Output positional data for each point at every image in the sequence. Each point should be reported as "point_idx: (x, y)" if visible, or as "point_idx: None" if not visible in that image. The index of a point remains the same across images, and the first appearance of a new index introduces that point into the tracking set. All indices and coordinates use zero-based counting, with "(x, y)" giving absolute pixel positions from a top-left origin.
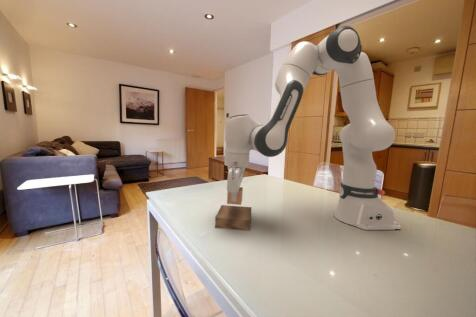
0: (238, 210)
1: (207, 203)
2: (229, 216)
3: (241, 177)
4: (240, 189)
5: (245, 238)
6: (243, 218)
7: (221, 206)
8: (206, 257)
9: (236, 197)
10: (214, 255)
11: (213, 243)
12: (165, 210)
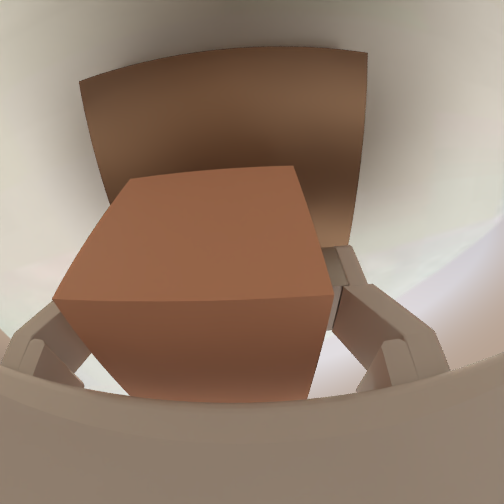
0: (186, 162)
1: None
2: (322, 206)
3: (22, 498)
4: (203, 324)
5: (423, 83)
6: (345, 103)
7: None
8: (500, 219)
9: (363, 276)
10: (499, 200)
11: (448, 215)
12: None
